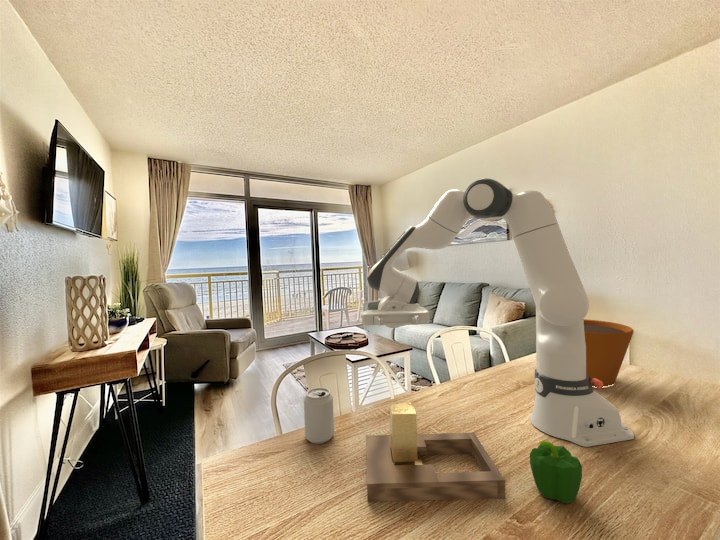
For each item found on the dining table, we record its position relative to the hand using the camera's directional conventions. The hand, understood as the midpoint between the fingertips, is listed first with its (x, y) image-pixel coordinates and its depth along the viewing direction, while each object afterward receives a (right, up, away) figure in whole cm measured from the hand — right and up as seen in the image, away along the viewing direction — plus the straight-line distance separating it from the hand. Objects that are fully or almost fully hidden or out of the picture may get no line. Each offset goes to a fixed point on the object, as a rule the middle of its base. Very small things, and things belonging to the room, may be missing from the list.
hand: (397, 322), depth 86 cm
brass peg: (-1, -29, -20) cm, 35 cm away
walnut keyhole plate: (+4, -29, -20) cm, 35 cm away
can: (-21, -29, -6) cm, 36 cm away
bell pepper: (+27, -28, -27) cm, 48 cm away
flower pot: (+72, -25, +24) cm, 80 cm away
